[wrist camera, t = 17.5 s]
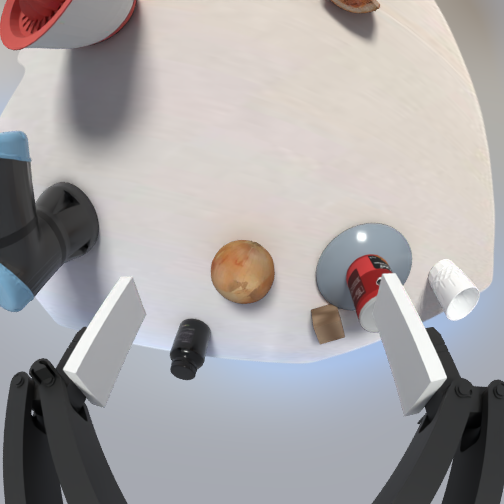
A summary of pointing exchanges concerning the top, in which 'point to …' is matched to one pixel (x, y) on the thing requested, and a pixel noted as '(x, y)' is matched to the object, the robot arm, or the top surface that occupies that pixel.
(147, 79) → the top surface
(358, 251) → the plate
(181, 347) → the supplement bottle
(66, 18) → the citrus juicer
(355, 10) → the fruit slice
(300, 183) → the top surface
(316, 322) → the walnut block
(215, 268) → the onion
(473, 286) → the white cup
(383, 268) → the canned food
